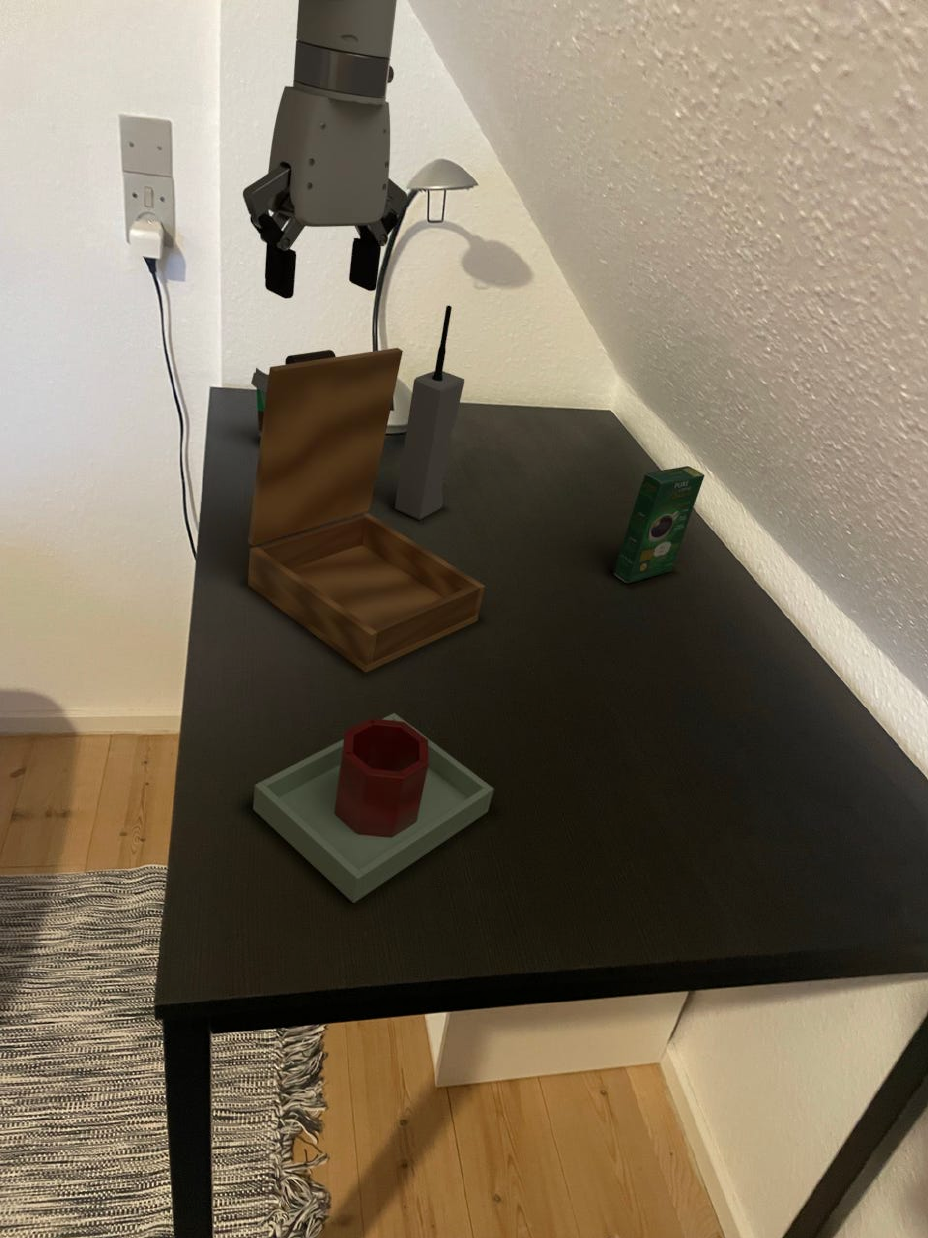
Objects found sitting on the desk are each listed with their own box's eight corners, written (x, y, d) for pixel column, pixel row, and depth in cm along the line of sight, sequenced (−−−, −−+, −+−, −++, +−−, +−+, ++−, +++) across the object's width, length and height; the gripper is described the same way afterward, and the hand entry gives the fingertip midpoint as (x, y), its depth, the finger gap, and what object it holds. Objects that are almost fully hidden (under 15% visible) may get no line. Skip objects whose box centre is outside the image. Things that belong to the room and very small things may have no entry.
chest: (477, 621, 97) (485, 585, 95) (365, 673, 86) (371, 634, 84) (362, 546, 106) (366, 512, 103) (247, 585, 95) (249, 548, 93)
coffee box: (656, 560, 115) (688, 462, 108) (673, 572, 114) (707, 473, 107) (610, 573, 111) (641, 471, 104) (628, 585, 109) (660, 482, 102)
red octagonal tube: (374, 849, 68) (384, 789, 65) (318, 800, 71) (325, 740, 68) (433, 811, 72) (445, 753, 69) (378, 767, 76) (387, 708, 72)
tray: (353, 904, 64) (357, 879, 63) (252, 809, 70) (254, 784, 69) (488, 811, 74) (494, 788, 73) (390, 735, 80) (394, 712, 78)
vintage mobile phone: (441, 509, 117) (478, 306, 103) (419, 521, 113) (454, 312, 100) (417, 498, 118) (449, 296, 105) (394, 510, 114) (425, 302, 101)
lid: (403, 350, 92) (369, 329, 95) (275, 370, 82) (240, 346, 84) (369, 510, 103) (339, 488, 105) (252, 546, 92) (222, 520, 95)
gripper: (387, 75, 84) (365, 272, 93) (223, 56, 72) (216, 283, 82) (447, 92, 80) (418, 296, 89) (284, 74, 69) (269, 310, 78)
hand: (322, 289), depth 85 cm, fingers open, 9 cm apart
